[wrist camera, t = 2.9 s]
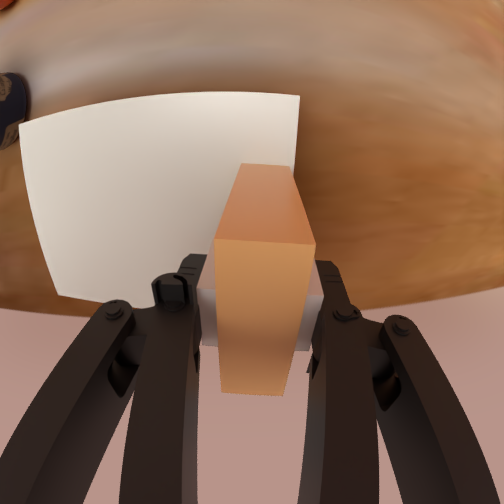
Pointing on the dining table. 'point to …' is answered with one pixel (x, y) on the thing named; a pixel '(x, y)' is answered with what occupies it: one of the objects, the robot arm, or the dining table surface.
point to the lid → (180, 213)
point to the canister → (11, 108)
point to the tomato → (5, 3)
